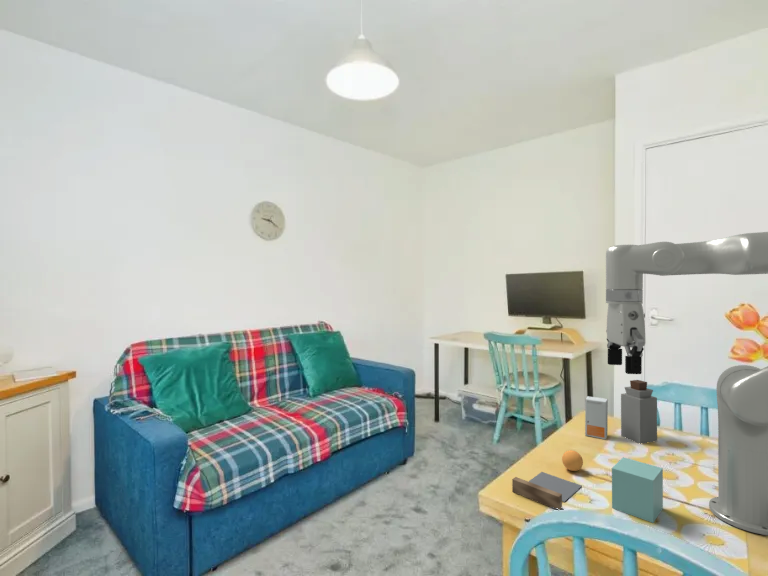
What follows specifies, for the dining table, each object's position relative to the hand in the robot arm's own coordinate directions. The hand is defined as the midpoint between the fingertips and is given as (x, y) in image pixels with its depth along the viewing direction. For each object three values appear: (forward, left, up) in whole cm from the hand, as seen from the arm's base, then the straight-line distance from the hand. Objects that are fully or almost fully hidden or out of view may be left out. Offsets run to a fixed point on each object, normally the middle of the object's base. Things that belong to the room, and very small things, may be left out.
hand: (623, 368), depth 95 cm
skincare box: (+16, -30, -29) cm, 45 cm away
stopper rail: (+12, +19, -29) cm, 37 cm away
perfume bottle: (+6, -37, -29) cm, 47 cm away
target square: (+12, +11, -29) cm, 33 cm away
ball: (+12, -1, -26) cm, 29 cm away
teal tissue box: (-5, +7, -29) cm, 30 cm away
